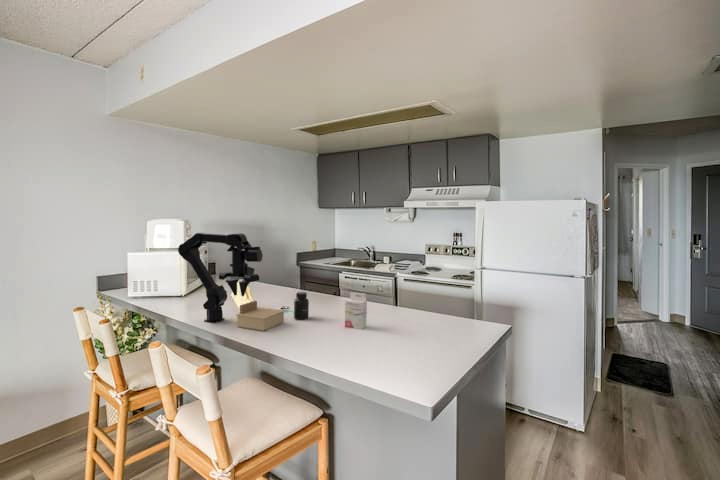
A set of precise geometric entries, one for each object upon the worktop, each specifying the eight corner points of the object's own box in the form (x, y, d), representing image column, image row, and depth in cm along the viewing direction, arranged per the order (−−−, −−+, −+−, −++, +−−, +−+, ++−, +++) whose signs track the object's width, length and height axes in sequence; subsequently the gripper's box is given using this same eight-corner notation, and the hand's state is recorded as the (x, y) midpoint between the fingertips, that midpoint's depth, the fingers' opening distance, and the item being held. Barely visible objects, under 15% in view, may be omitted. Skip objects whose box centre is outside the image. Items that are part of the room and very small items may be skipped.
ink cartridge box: (344, 327, 162) (344, 293, 161) (349, 324, 167) (349, 291, 166) (362, 329, 158) (362, 295, 158) (367, 326, 163) (367, 293, 162)
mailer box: (237, 327, 161) (237, 316, 160) (258, 319, 174) (258, 308, 173) (263, 331, 155) (263, 319, 155) (283, 322, 168) (283, 311, 168)
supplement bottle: (305, 320, 172) (305, 294, 171) (291, 319, 173) (291, 294, 172) (310, 316, 179) (310, 291, 178) (297, 315, 180) (297, 291, 179)
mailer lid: (236, 316, 160) (236, 306, 160) (258, 308, 174) (258, 299, 173) (263, 319, 154) (263, 310, 154) (284, 311, 168) (284, 302, 168)
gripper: (266, 260, 171) (267, 294, 172) (235, 258, 178) (235, 290, 179) (250, 263, 161) (251, 299, 162) (217, 261, 168) (218, 295, 169)
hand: (239, 295), depth 168 cm, fingers open, 4 cm apart
